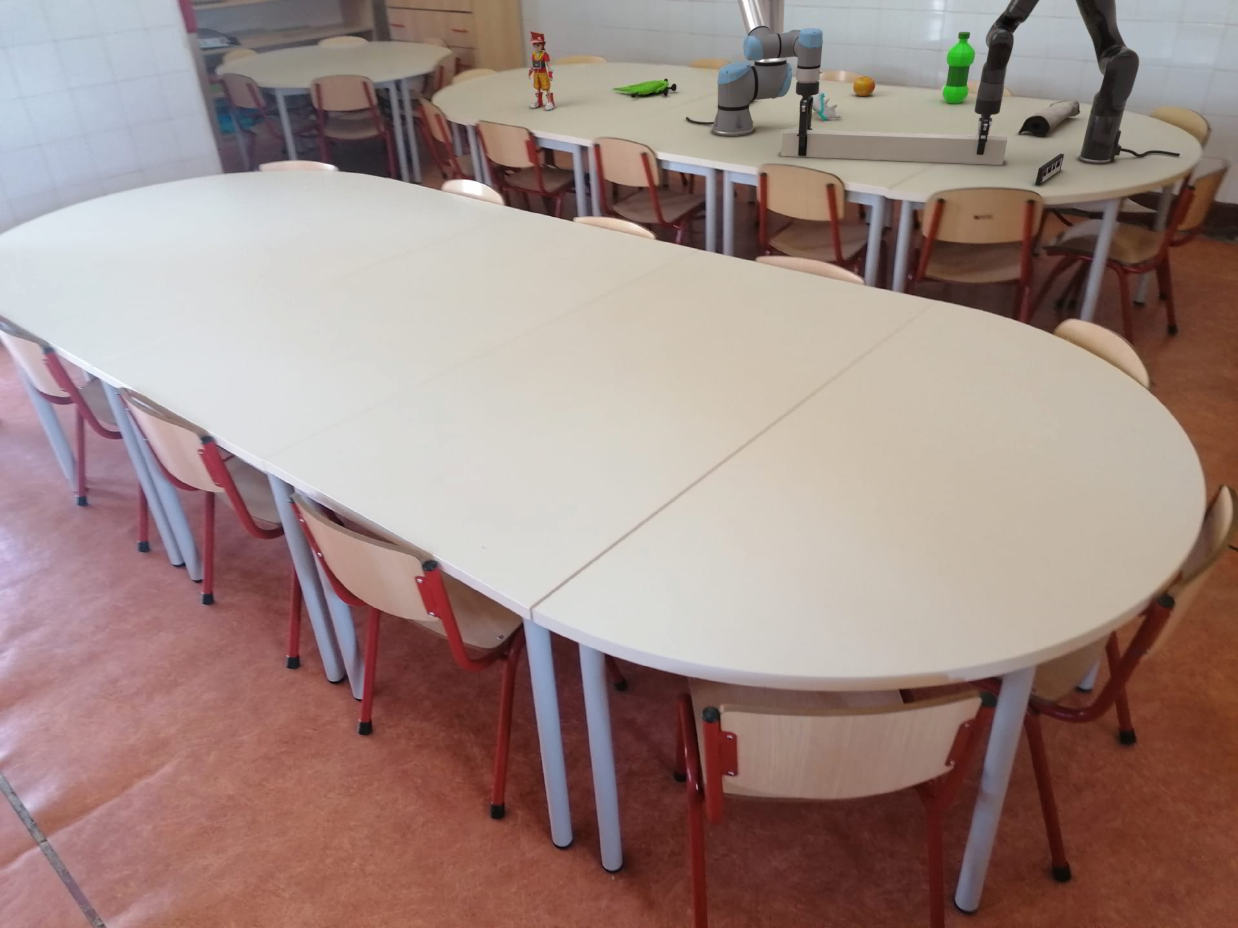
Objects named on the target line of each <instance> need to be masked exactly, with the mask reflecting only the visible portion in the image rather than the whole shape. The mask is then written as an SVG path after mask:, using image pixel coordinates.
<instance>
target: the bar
mask: <svg viewBox="0 0 1238 928" xmlns="http://www.w3.org/2000/svg"><path fill="white" fill-rule="evenodd" d="M798 133H799V129H795V128H794V129H793V128H791V129H790V128H785V129H783V130H782V131H781V141H780V157H794V158H795V157H797V158H798V157H799V158H823V159H845V160H871V161H894V162H916V163H917V162H918V163H919V162H920V163H939V164H941V163H943V164H964V165H965V164H967V165H992V166H1003V165H1004V160H1005V156H1006V155H1005V154H1006V150H1007V144H1008V136H1007V135H988V137H987V142H986V144H985V150H984V154H983V155H977V147H978V139H979V135H978V134H977V135H976V134H975V135H974V134H947V133H945V134H944V133H943V134H942V133H916V132H915V133H914V132H913V133H912V132H886V131H885V132H883V131H855V130H854V131H850V130H825V129H824V130H823V129H822V130H819V129H812V130H807V152H806V156H798V147H799V136H797V134H798ZM985 137H986V136H981V138H985Z"/></svg>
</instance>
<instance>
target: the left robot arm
mask: <svg viewBox="0 0 1238 928" xmlns="http://www.w3.org/2000/svg"><path fill="white" fill-rule="evenodd" d="M737 3H738V6H739V10H740V14H741V17H742V21H743V24H744V25H743V26H744V28H745V33H746V36H745V38H744V40H743V45H742V49H743V56H744V59H746V60H747V61H736V62H732V63H727V64H725V65H723V66H722V67H720V69H719V70H718V75H717V111H716V114H715V118H714V120H713V121H698V120H694V119H691V118H690V117H688V116H686V117H685V119H686V120H687V121H688V122H689V123H692V124H697V125H706V126H709V125H712V133H713V134H715V135H717V136H721V137H741V136H746V135H750V134H752V133H754V119H753V118H752V115H751V111H750V103H749V101H751V100H754V101H759V100H770V99H771V100H772V99H773V100H774V99H777V98H778V99H779V98H782V97H785V96H786V95H787V94H788V93H789V90H790V88H791V85H792V80H793V71H792V65H791V63H789V62H788V61H787V60H788V59H787V58H797V64H796V76H795V77H796V78H795V80H796V83H795V94H796V95H798V96H801V99H800V100H799V118H798V119H799V120H798V130H799V133H798V134H797V136H799V147H798V156H806V152H807V130H813V128H812V117H813V116H812V115H813V107H812V105H813V97H812V96H814V95H816V94H818V93H819V90H820V77H821V74H822V73H823V70H821V66H822V65H821V64H822V54H823V44H824V40H823V39H824V38H823V37H824V32H823V30H822V29H821V28H815V27H809V28H802V29H791V30H789V31H788V32H784V26H785V25H784V23H785V0H737ZM749 61H753V62H754V64H753V65H751V63H750V62H749Z"/></svg>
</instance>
